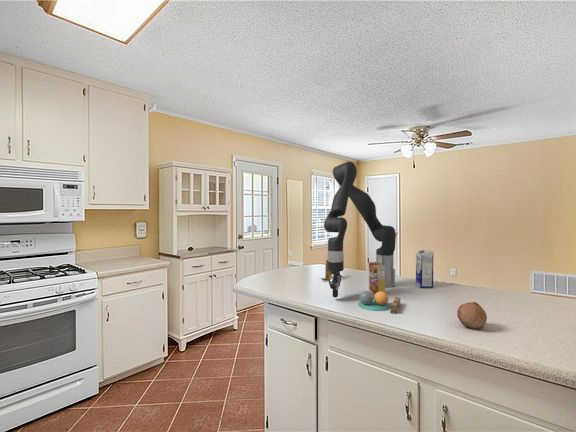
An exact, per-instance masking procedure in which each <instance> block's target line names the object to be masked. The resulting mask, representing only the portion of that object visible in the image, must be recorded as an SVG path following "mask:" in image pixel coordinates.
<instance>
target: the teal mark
mask: <svg viewBox="0 0 576 432" xmlns="http://www.w3.org/2000/svg"><path fill="white" fill-rule="evenodd" d="M357 305H358V307H360V308H361V309H365V310H368V311H373V312H375V311H376V312H379V311H380V312H382V311H383V312H384V311H388V310H391V304H389V303H388V302H387V303H386V304H385V305H378V304H377V303H376V302H375V300H373V301H372V303H371V304H369V305H364V304H362V303H361V301H359V302H358V303H357Z"/></svg>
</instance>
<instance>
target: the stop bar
mask: <svg viewBox="0 0 576 432" xmlns="http://www.w3.org/2000/svg"><path fill="white" fill-rule="evenodd" d="M390 306H391V308H390V314H394V315H395V314H397V312H398V310H399V308H400V307H401V297H397V296H395V298H394V300H393V301H392V303H391V304H390Z"/></svg>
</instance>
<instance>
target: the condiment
mask: <svg viewBox="0 0 576 432" xmlns="http://www.w3.org/2000/svg"><path fill="white" fill-rule="evenodd" d="M324 268H325V270H324V271H325V277H324V278H323V277H321V278H320V280H321V281H323V282H329V281H328V280H329V279H331V278H330V274H331V271H329V270H328V269H327V259H326V260H325V267H324Z"/></svg>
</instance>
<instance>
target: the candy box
mask: <svg viewBox="0 0 576 432" xmlns="http://www.w3.org/2000/svg"><path fill="white" fill-rule="evenodd" d="M379 291H382V292H384V293H386V287H385V265H383V264H380V263H377V262H376V261H368V292H370V293H371V294H372V293H373V294H374V295H375V294H376V293H377V292H379Z"/></svg>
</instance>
